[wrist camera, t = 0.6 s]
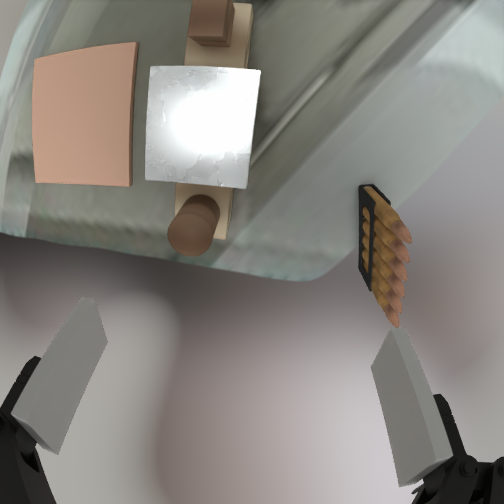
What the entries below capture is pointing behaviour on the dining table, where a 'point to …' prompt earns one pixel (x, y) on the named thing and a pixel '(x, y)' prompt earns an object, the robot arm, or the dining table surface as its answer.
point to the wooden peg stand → (213, 55)
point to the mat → (84, 115)
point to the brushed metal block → (201, 124)
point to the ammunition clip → (382, 250)
